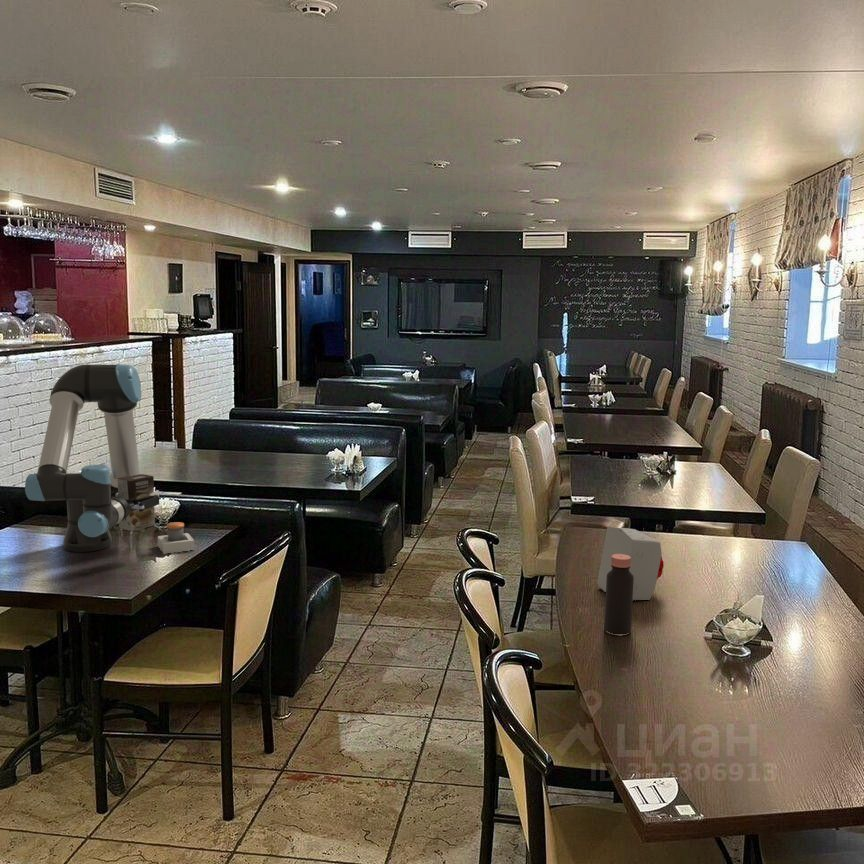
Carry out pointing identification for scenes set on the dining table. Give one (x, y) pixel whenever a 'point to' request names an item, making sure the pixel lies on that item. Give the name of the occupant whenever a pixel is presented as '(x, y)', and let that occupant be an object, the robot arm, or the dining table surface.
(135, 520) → the coffee box
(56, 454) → the robot arm
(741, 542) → the dining table surface
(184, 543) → the breaker housing
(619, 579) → the bottle
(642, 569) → the electrical switch box
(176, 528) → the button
